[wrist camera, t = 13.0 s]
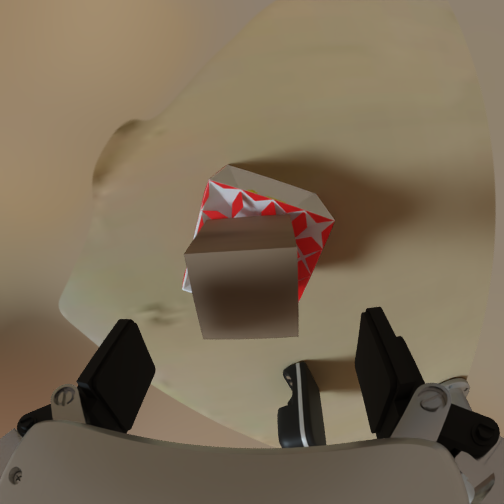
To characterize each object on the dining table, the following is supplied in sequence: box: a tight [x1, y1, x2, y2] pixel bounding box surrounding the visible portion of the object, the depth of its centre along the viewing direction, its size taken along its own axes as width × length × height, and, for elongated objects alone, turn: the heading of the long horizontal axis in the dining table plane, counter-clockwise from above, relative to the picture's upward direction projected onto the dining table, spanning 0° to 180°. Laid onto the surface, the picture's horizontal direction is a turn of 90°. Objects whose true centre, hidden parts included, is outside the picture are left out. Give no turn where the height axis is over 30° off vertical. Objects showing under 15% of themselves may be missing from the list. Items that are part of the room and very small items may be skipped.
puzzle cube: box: [182, 164, 335, 303], centre depth 22 cm, size 8×8×8 cm
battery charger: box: [278, 362, 326, 448], centre depth 28 cm, size 7×4×11 cm, turn 25°
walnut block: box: [184, 214, 298, 339], centre depth 16 cm, size 5×5×5 cm
